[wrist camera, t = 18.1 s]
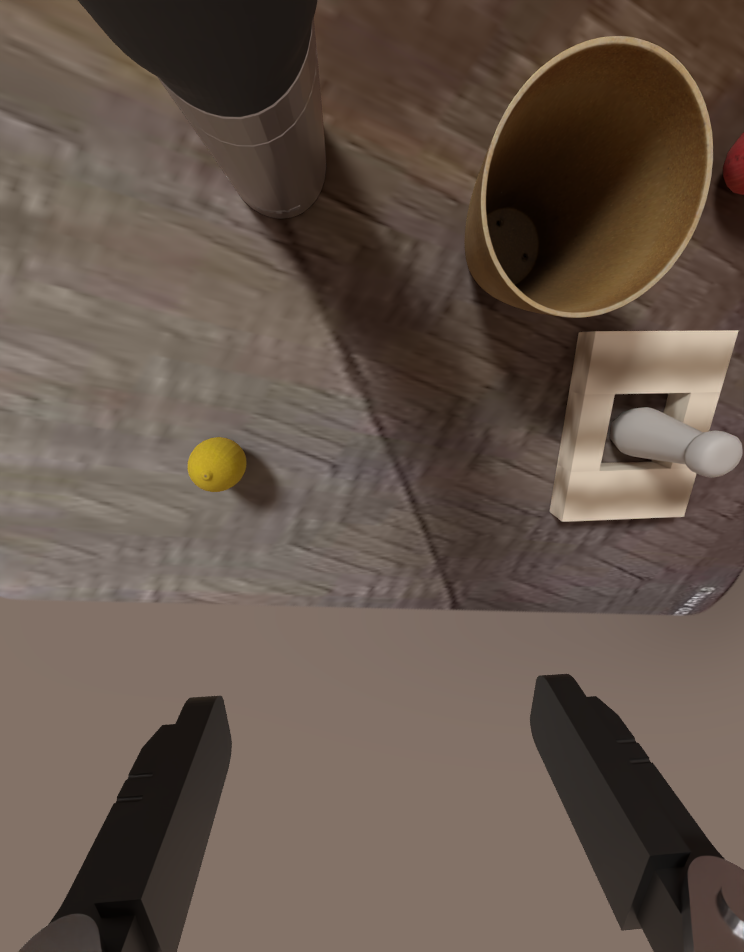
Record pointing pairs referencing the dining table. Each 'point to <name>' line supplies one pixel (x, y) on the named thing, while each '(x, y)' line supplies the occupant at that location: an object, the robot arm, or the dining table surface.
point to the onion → (735, 167)
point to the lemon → (217, 464)
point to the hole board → (589, 409)
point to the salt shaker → (675, 442)
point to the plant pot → (591, 180)
